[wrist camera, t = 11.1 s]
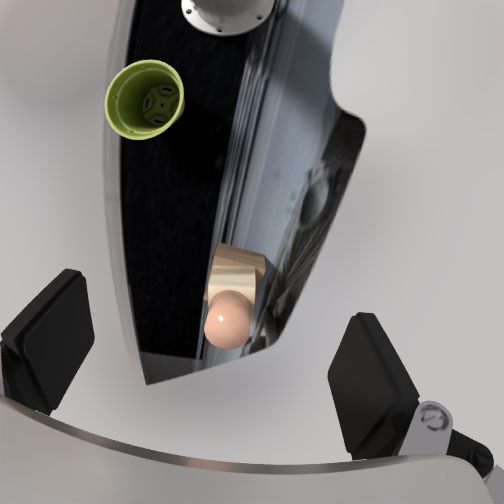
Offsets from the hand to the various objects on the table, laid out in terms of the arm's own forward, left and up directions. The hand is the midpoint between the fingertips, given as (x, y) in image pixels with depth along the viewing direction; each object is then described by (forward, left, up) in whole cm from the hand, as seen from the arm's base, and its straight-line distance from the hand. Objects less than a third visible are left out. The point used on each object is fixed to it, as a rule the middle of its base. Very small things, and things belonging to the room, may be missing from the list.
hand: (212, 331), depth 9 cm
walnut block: (+14, +1, -32) cm, 35 cm away
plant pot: (-9, -12, -32) cm, 36 cm away
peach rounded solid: (+14, +1, -22) cm, 26 cm away
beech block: (+14, +1, -28) cm, 31 cm away
